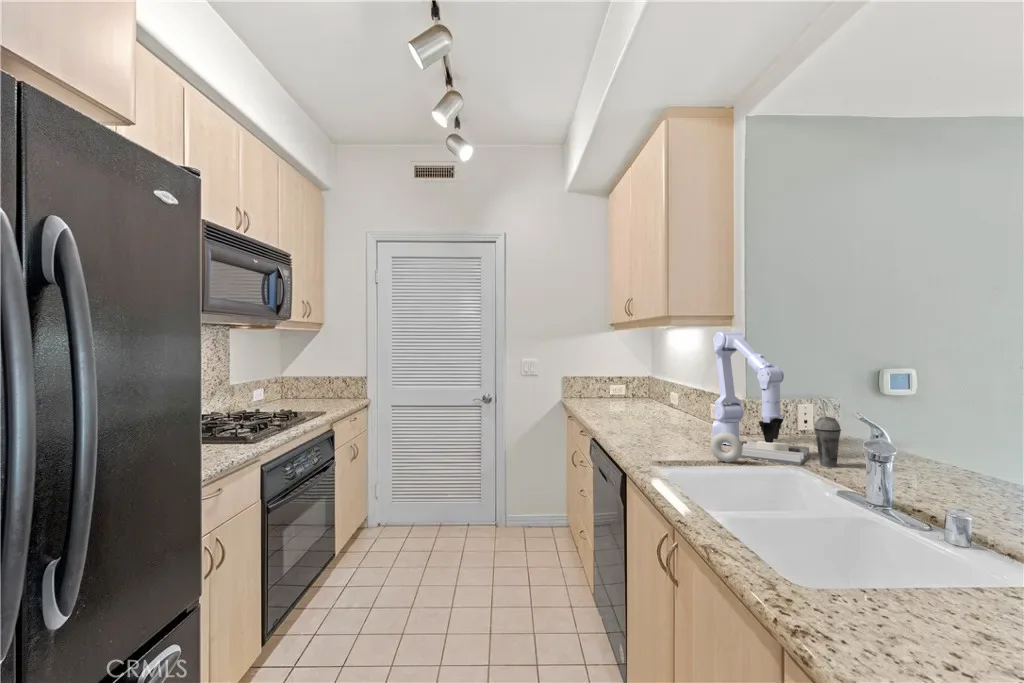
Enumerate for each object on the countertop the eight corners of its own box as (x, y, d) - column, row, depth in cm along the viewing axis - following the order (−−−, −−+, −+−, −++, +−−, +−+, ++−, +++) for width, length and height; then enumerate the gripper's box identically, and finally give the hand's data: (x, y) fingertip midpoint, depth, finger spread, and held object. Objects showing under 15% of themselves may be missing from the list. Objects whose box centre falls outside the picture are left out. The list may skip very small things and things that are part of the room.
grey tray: (734, 457, 170) (734, 449, 170) (747, 448, 183) (747, 440, 183) (800, 465, 157) (800, 456, 157) (809, 455, 170) (809, 447, 170)
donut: (743, 463, 161) (743, 432, 161) (741, 465, 158) (741, 434, 158) (712, 459, 167) (711, 430, 167) (709, 461, 164) (708, 431, 164)
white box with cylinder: (756, 452, 172) (756, 442, 172) (758, 450, 174) (758, 440, 174) (798, 457, 163) (798, 446, 164) (800, 455, 166) (800, 445, 166)
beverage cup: (846, 468, 152) (844, 404, 152) (820, 467, 153) (819, 404, 154) (835, 463, 159) (834, 401, 159) (811, 462, 160) (809, 401, 161)
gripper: (779, 404, 162) (780, 445, 162) (788, 400, 173) (788, 438, 173) (756, 403, 167) (756, 443, 167) (766, 399, 178) (766, 436, 178)
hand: (771, 440), depth 170 cm, fingers open, 7 cm apart
